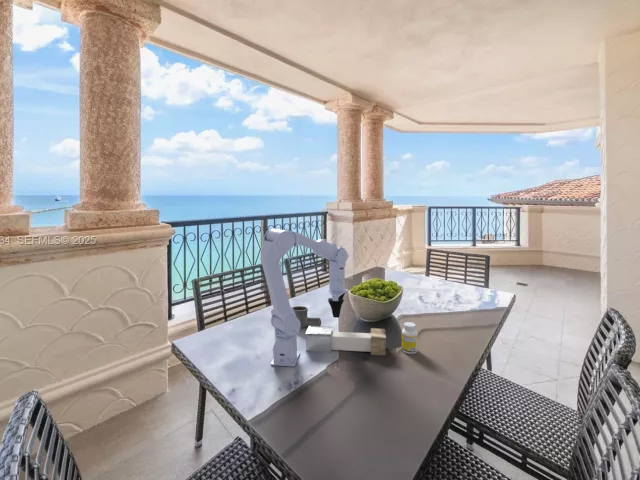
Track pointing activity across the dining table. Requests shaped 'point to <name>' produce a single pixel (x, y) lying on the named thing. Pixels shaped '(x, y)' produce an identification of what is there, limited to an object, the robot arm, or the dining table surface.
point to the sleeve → (318, 339)
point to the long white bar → (351, 341)
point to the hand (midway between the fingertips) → (337, 313)
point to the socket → (378, 342)
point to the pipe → (305, 317)
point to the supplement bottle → (409, 338)
